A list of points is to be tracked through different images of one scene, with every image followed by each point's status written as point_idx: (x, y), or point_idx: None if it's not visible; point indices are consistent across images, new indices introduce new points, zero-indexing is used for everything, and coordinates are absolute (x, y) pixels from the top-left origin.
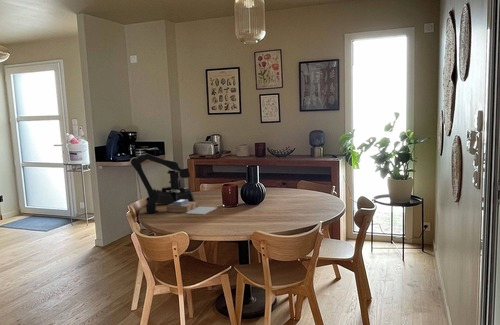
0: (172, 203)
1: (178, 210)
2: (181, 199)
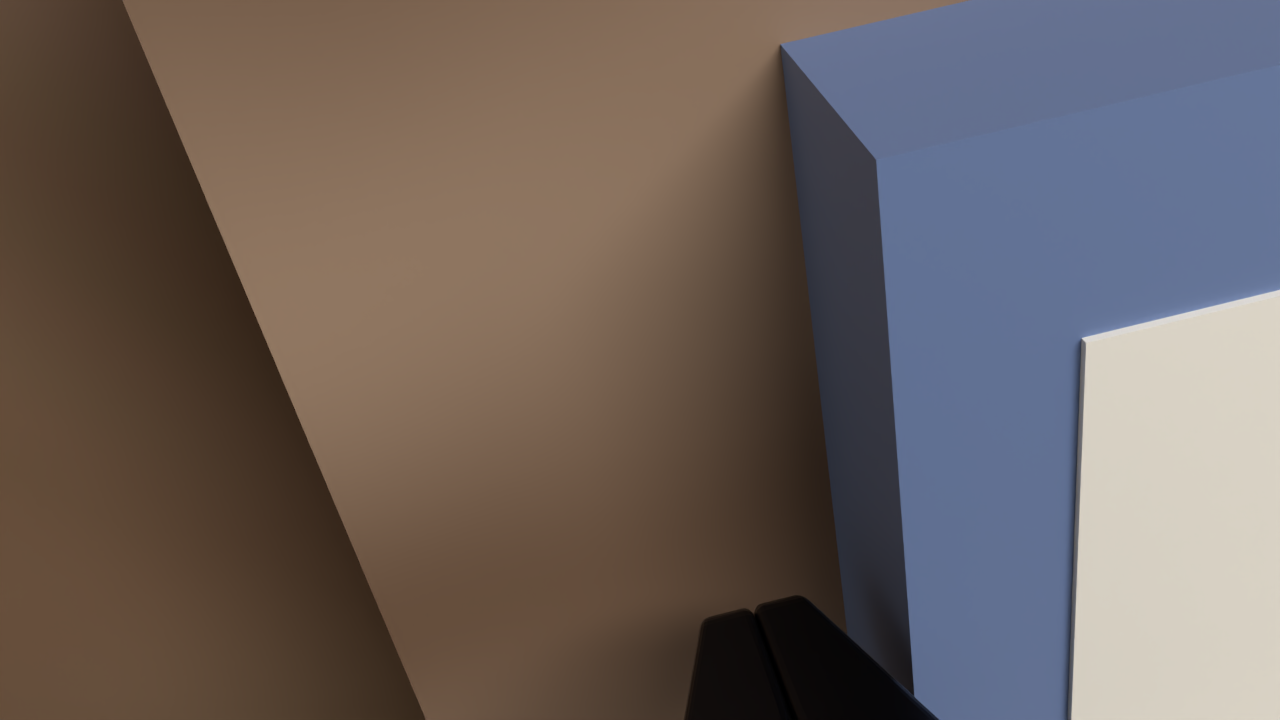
0: (475, 686)
1: None
2: (1065, 243)
